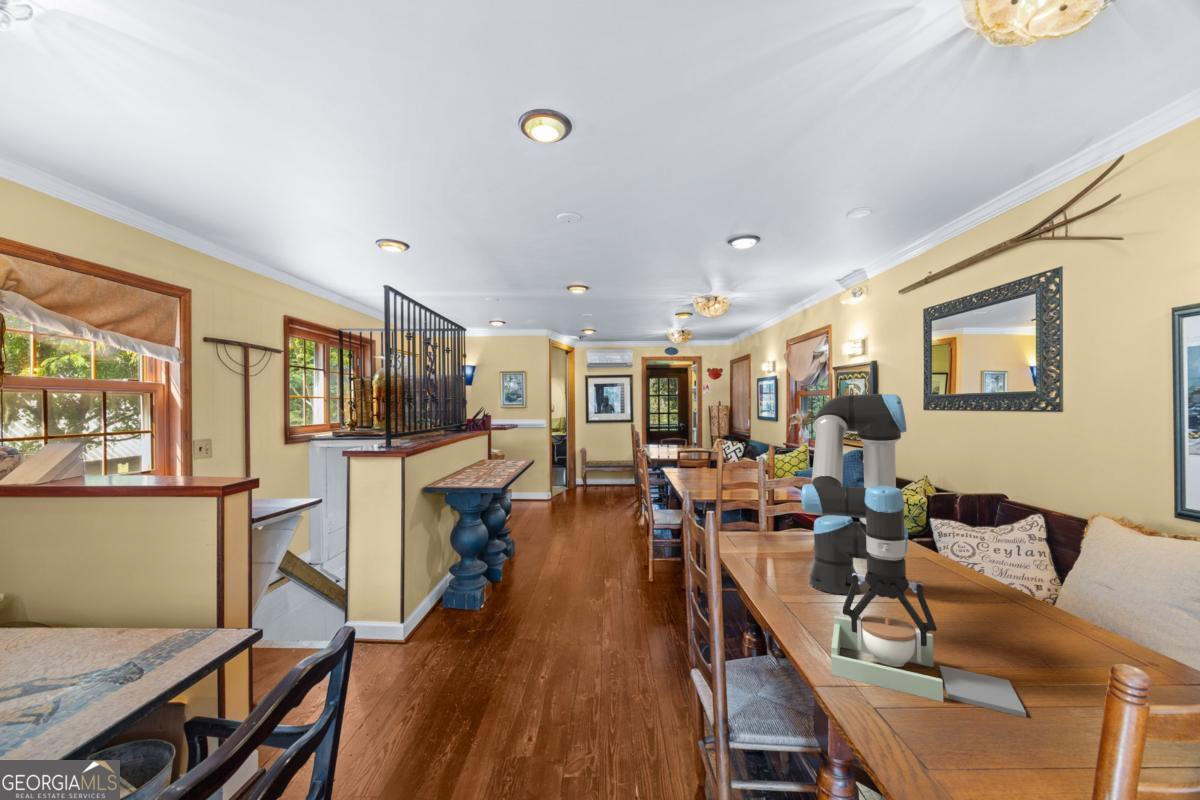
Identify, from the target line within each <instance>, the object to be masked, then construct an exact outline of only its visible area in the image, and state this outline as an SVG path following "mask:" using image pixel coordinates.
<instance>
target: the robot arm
mask: <svg viewBox="0 0 1200 800" xmlns="http://www.w3.org/2000/svg"><path fill="white" fill-rule="evenodd" d="M812 429H813V432H814V434H815V441H814V451H813V462H812V473H811V482H810V483H807V484H803V485H802V486H801V487H802V488H801V494H800V495H801V496H800V498H801V507H802V510H803V512H804V513H808V514H815V515H819V517H817V518H816V519H815V520H814V522H813V537H814V540H813V541H814V542H813V545H814V551H813V553H814V554H813V555H814V562H813V564H812V568H811V571H810V573H809V576H808V577H809V584H810V583H811V584H812V585H813V586H814V587H816V588H818V589H820V590H823V591H826V592H825V593H827V592H829V594H832V593H835V594H834V595H839V594H844V596H845V595H846V599H845V601H844V604H843V606H842V614H843V615H844V616H848V617H849V619H851V624H852V632H855V633H857V641H858V649H861V619H862V617H861V616H860V615H862V613H863V611H864V610H865V609H866V608H867V607H868V605H869V604H870V603H871V602H872V601H873V599H875V598H876V596H878V597H880V598H888V599H891V600H895V599H898V601H899V603H901V605H902V606H903V607H904V609H905V610H906V612H907V614H909V616H910V618H911V619H912V620H913V622H914V624H915V625H916V626H915V627H914V628H915V630H916V658H917V662H921V646H925V647H926V645H927V633H928V632H931V631H932V632H937V629H938V628H937V626H936V623H935V620H934V618H933V615H932V612H931V611H930V610H931V609H930V608H929V606H928V602H927V601H926V598H925V596H924V585H923V583H922V582H921V581H915V582H914V581H909V580H908V579H907V574H906V573H907V570H906V569H907V567H906V556H907V551H908V543H909V542H908V540H909V539H908V538H909V531H908V527H907V526H905V504H906V503H905V500H904V492H903V490H902V489H901V488H898V487H897V485H896V484H897V479H896V477H897V476H896V475H897V472H896V470H897V469H896V443H897V442H898V441H899V440H901V439H902V436H901V435H902V434H904V433H906V432H907V430H908V429H907V422H906V416H905V411H904V406H903V401H902V399H901V397H900V395H897V394H891V393H889V394H888V393H872V394H869V393H866V394H844V395H843V394H842V395H839V396H836V397H834V398H832V399H829V400H828V401H826V403H824V404H823V405H822V406H821V407H820V408H819V409H818V411H817V412H816V414H815V416H814V418H813V424H812ZM847 432H853V433H854V432H855V433H856V432H857V433H856V434H857V435H856V436H857V439H859V441H861V442H862V446H863V449H862V450H863V453H862V454H863V487H858V486H857V487H855V486H843V481H844V480H843V476H844V475H843V474H844V471H843V470H844V436H845V435H846V434H847ZM820 515H822V516H820ZM853 518H858V519H859V521H853V520H854V519H853ZM854 559H859V560H866V573H865V574H858V573H857V572H856V569H855V567H854ZM864 581H865V582H866V584H867V585H868V587H869V588H868V590H867V591H866V593H864V595H863V596H862V598H861V599H860V600H859V601H858V603H857V604H856V605H855V606H854V608H852V606H853V605H852V604H853V602H854V599H855V596H856V594H859V592H861V585H862V584H863V582H864ZM814 587H813V588H814ZM816 588H815V589H816ZM818 589H817V590H818ZM907 589H911V591H912V592H913V593H914V594H916V596H917V600H918V603H919V605H920V607H921V610H922V612H923V615H924V617H925V619H926V622H924V620H922V618H921V617H920V615H919V613H918V612H917V611H916V609H915V608H914V606H913V605H912V603H911V602H910V601H909V599H908V598H907V596H906V595H905V593H904V592H906V590H907ZM820 590H819V591H820ZM823 591H822V592H823ZM851 608H852V609H851Z"/></svg>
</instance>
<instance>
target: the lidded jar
mask: <svg viewBox="0 0 1200 800" xmlns="http://www.w3.org/2000/svg"><path fill="white" fill-rule="evenodd" d="M861 628H862V637H863V641H864V644H865V646H866V648H867V650H868V651H869V652H870V653H871V654H870V653H869V654H870V655H872V657H873V658H874V660H875V661H877V662H879V664H881V665H884V666H887V667H892V668H897V667H898V668H899V667H903V666H904V665H905V664H906V663H909V662H908V661H909V660H910V659H911V658H912V657H913V655H914V652H915V647H916V630H915V627H914V626H913V625H912V624H910V623H908V622H907V621H905V620H902V619H900V618H897V617H893V616H889V615H883V614H869V615H864V616H863V617H861Z"/></svg>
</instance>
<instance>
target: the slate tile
mask: <svg viewBox="0 0 1200 800" xmlns="http://www.w3.org/2000/svg"><path fill="white" fill-rule="evenodd" d="M938 667H939V671H940V675H941V679H942V681H943V688H944V689H945V693H946V696H947V697H946V698H947V699H948V700H952V701H957V702H960V703H965V704H968V705H973V706H976V707H981V708H985V709H988V710H993V711H997V712H1001V713H1005V714H1010V715H1014V716H1018V717H1023V718H1027V712H1026V710H1025V708H1024V706H1023V704H1022V702H1021V701H1020V698H1019V697H1018V695H1017V693H1016V691H1015V690H1014V687H1013V686H1012V684H1011V682H1010V680H1009V679H1006V678H999V677H995V676H991V675H986V674H981V673H978V672H971V671H968V670H963V669H958V668H955V667H954V668H953V667H949V666H946V665H945V666H944V665H939V666H938Z"/></svg>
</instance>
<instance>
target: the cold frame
mask: <svg viewBox="0 0 1200 800" xmlns="http://www.w3.org/2000/svg"><path fill="white" fill-rule="evenodd" d="M833 618H834V619H833V621H834V622H833V623H834V625H833V632H832V639H831V647H830V650H831V651H830V652H831V655H830V662H831V663H830V667H831V668H830V670H831V671H830V672H831V673H830V674H831V676H835V677H841V678H843V679H849V680H852V681H857V682H860V683H865V684H869V685H873V686H877V687H880V688H884V689H888V690H892V691H897V692H900V693H901V692H902V693H904V694H908V695H914V696H916V697H920V698H926V699H929V700H933V701H937V702H941V703H944V683H943V680H942V678H939V677H934V676H930V675H926V674H921V673H918V672H913V671H907V670H904V669H900V668H897V667H892V666H888V665H883V664H877V663H873V662H868V661H864V660H859V659H855V658H851V657H846V656H842V655H840V654H841V648H844V649H848V650H853V651H857V652H862V653H866V654H870V655H872V654H871V653H870V652H869V651H868V650H867V648H866V646H865V644H864V641H863V637H862V628H861V649H858V641H857V633H855V632H852V624H851V618H850V617H849V618H848V617H843V616H838V615H834V616H833ZM907 663H910V664H911V663H913V664H917V665H921V666H926V667H929V668H930V667H931V668H934V667H935V662H934V636H933V633H928V632H927V645H926V647H925V646H921V662H917V658H916V647H915V652H914V655H913V657H912V658H911V659H910V660H909V661H908V662H907Z"/></svg>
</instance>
